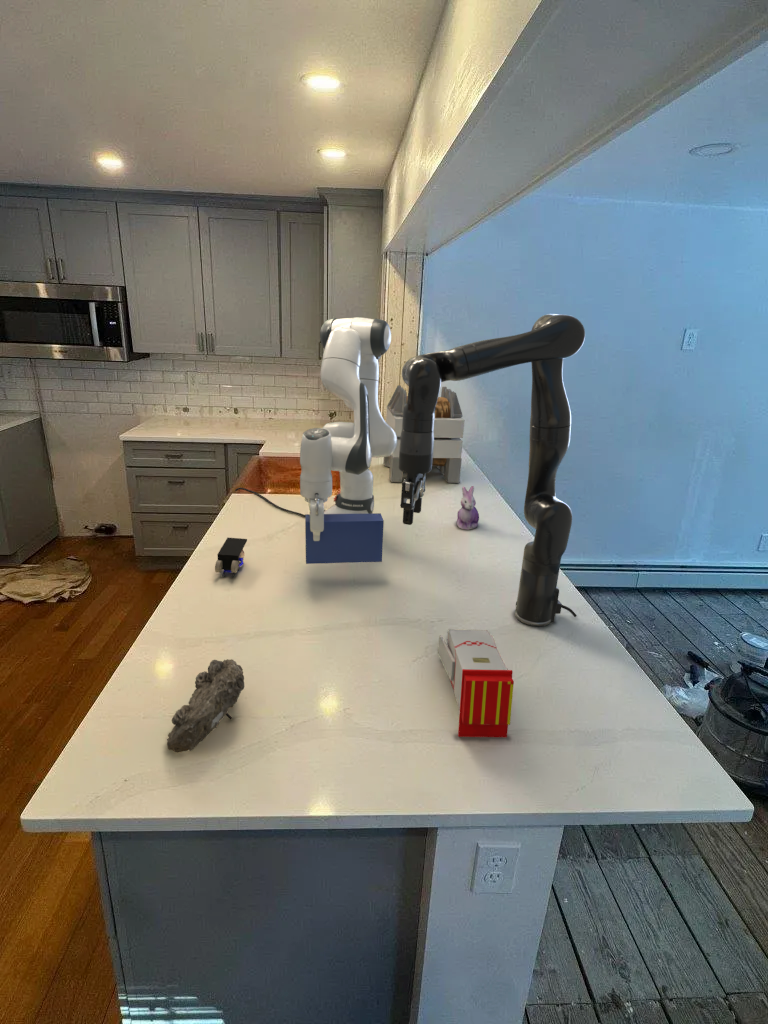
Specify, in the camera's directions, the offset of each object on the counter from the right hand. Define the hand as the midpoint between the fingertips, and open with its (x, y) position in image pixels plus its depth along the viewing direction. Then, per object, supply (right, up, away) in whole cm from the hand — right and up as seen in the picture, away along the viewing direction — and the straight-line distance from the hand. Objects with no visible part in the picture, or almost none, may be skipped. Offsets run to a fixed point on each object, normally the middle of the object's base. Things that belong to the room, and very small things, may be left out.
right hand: (412, 517), depth 132 cm
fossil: (-39, -38, -24) cm, 59 cm away
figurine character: (-51, -16, +36) cm, 65 cm away
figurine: (+24, -4, +79) cm, 82 cm away
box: (-18, -12, +33) cm, 40 cm away
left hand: (-26, -5, +29) cm, 39 cm away
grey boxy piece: (+11, +20, +143) cm, 145 cm away
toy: (+11, -36, -13) cm, 40 cm away
